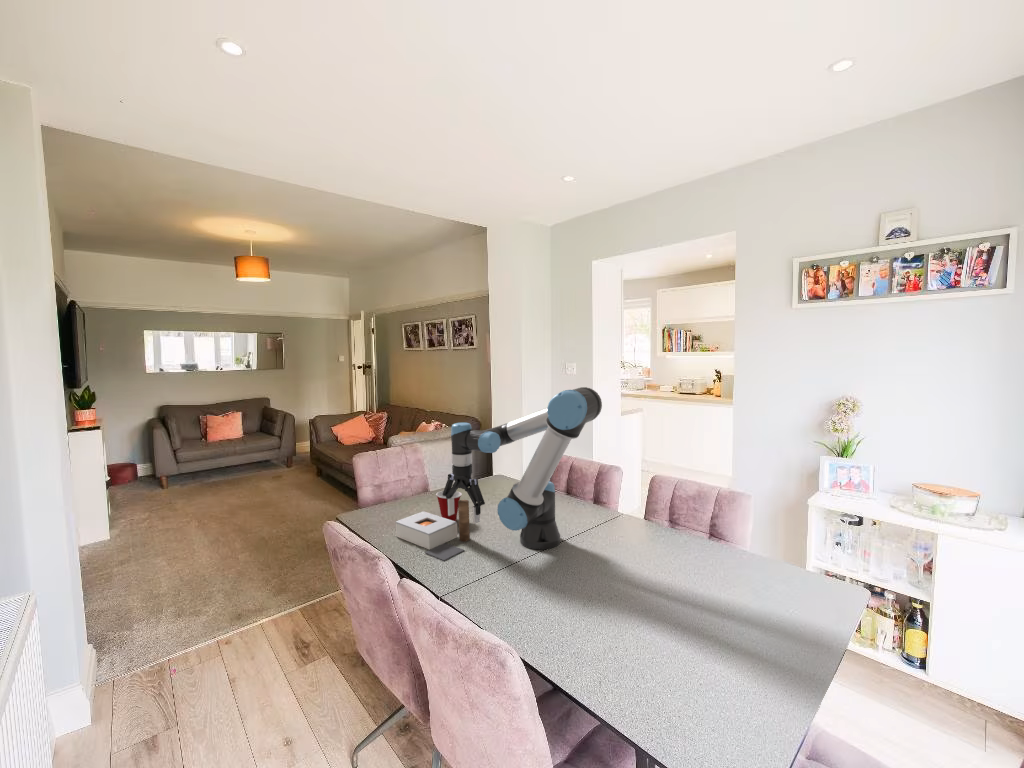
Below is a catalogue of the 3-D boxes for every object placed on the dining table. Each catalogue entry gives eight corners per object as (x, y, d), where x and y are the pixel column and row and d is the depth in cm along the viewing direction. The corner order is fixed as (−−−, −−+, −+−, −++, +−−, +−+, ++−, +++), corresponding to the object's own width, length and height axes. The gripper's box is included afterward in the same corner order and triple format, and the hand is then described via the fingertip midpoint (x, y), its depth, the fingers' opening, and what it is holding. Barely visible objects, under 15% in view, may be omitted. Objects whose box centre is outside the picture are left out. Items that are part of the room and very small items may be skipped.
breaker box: (457, 537, 182) (456, 521, 181) (429, 549, 171) (428, 533, 170) (423, 525, 194) (423, 511, 194) (395, 536, 184) (395, 521, 183)
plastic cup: (467, 520, 198) (466, 493, 197) (445, 527, 191) (444, 499, 190) (453, 514, 207) (452, 487, 206) (432, 520, 200) (431, 492, 199)
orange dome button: (435, 529, 183) (435, 523, 183) (425, 534, 179) (425, 527, 179) (427, 526, 186) (426, 520, 186) (416, 531, 182) (416, 524, 182)
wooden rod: (472, 539, 179) (470, 500, 178) (464, 542, 176) (463, 503, 175) (464, 536, 182) (463, 498, 181) (457, 540, 179) (455, 501, 178)
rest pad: (464, 550, 169) (464, 549, 169) (443, 561, 162) (443, 560, 162) (445, 543, 176) (445, 542, 176) (424, 553, 168) (424, 552, 168)
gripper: (493, 466, 172) (494, 523, 174) (446, 457, 187) (448, 508, 189) (479, 471, 166) (480, 529, 168) (432, 461, 182) (434, 514, 184)
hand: (463, 518), depth 179 cm, fingers open, 13 cm apart
